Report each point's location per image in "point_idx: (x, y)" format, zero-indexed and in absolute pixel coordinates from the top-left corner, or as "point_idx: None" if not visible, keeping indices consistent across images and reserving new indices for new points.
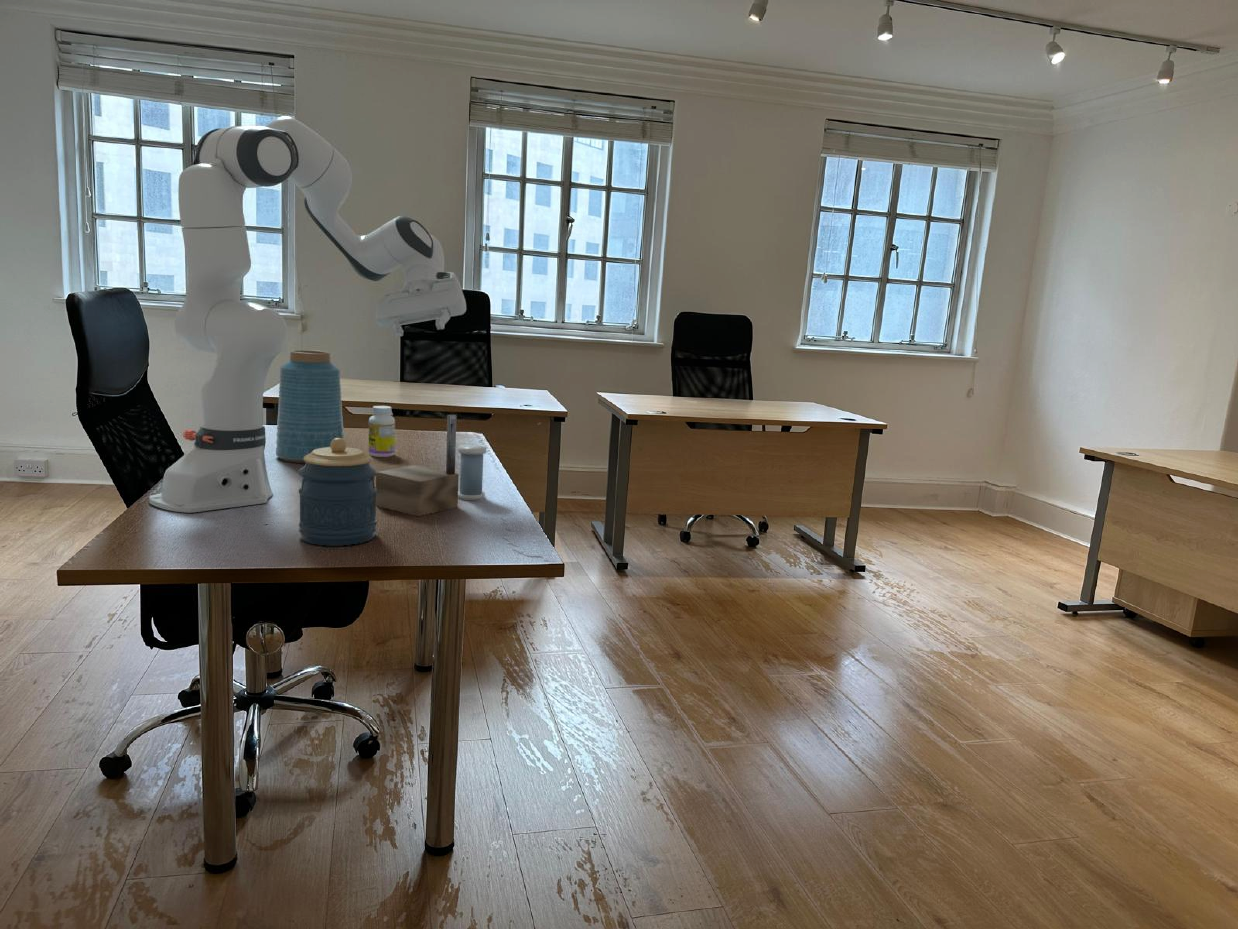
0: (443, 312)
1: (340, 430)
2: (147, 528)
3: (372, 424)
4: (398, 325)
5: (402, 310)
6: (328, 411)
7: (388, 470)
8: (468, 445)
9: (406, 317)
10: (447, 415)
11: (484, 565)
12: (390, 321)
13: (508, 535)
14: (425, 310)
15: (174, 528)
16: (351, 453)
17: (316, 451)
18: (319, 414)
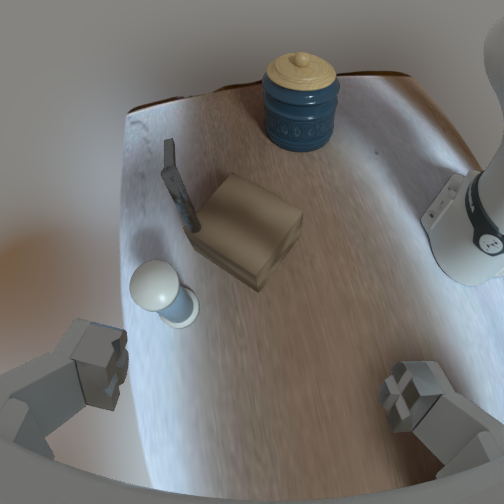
0: (13, 401)
1: None
2: (446, 138)
3: None
4: (445, 467)
5: (484, 494)
6: None
7: (288, 224)
8: (159, 302)
9: None
10: (177, 169)
11: (173, 100)
12: (501, 423)
13: (145, 161)
14: (199, 497)
15: (431, 138)
16: (284, 60)
17: (321, 61)
18: None
